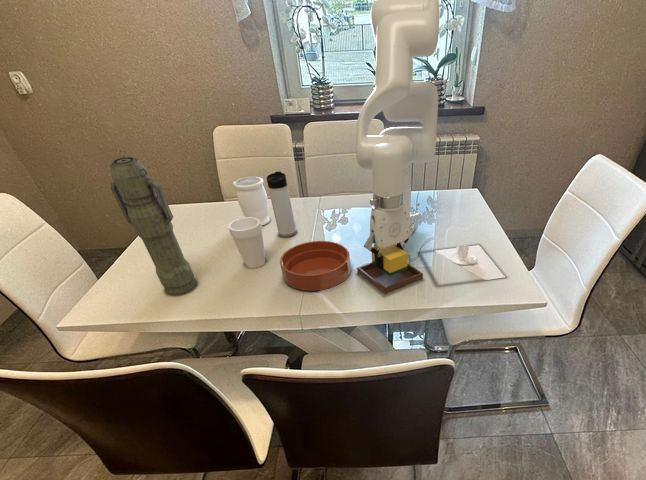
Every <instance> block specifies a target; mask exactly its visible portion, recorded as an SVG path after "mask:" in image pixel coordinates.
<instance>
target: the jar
mask: <svg viewBox="0 0 646 480" xmlns="http://www.w3.org/2000/svg"><path fill="white" fill-rule="evenodd" d="M263 184H264V178H263V177H260V176H247V177H241V178H238V179H236V180H235V181H233V187H234V188H235V191H236V192H235V194H236V199H237V202H238V205H239V208H240V209H241V212H242V215H243V216H244V217H255V218H258V219H260V222H261V226H262V227H263V226H264V225H267V224H268V223H270V221H271V220H270V217H269V199H268V195H267V191H266V189H265V186H264V185H263Z"/></svg>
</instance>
